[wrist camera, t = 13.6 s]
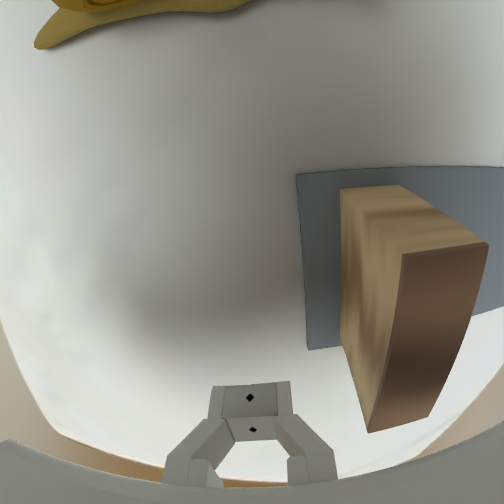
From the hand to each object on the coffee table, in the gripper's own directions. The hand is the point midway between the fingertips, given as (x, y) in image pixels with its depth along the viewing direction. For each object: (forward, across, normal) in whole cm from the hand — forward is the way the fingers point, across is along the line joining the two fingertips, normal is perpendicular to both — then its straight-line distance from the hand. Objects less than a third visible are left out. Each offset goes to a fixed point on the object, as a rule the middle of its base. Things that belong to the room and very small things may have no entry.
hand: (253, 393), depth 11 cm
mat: (+8, -13, 0) cm, 15 cm away
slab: (+8, -7, 0) cm, 10 cm away
